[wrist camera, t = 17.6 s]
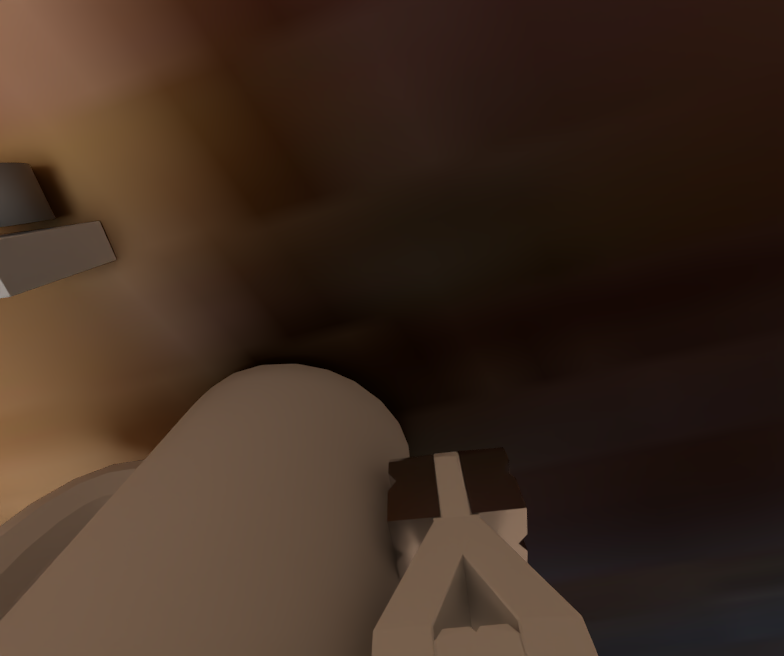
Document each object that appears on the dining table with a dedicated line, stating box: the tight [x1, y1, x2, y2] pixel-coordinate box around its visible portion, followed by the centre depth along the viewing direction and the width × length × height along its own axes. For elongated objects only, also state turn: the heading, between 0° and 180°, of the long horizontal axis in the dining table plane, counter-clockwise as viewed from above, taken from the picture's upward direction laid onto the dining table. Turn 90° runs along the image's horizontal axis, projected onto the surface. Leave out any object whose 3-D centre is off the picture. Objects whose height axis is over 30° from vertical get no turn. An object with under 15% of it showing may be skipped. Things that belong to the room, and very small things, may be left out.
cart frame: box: [0, 163, 116, 298], centre depth 12 cm, size 25×13×3 cm, turn 7°
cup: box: [0, 364, 409, 656], centre depth 8 cm, size 7×10×9 cm
